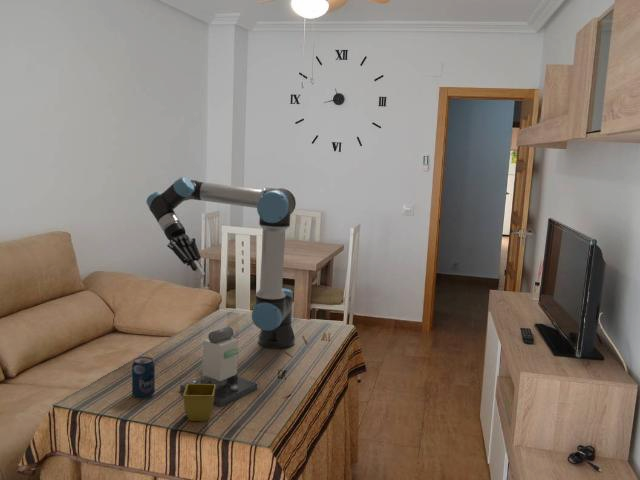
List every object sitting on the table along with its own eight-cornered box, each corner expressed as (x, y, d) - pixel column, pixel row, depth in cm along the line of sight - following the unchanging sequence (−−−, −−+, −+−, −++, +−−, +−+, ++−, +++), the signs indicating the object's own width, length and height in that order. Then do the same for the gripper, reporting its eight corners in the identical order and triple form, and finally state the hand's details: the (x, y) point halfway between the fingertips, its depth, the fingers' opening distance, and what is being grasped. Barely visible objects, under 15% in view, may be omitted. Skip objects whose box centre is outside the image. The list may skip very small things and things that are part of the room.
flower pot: (186, 410, 184) (187, 383, 183) (215, 411, 185) (216, 383, 183) (182, 424, 175) (182, 395, 174) (212, 424, 176) (213, 395, 175)
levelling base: (180, 391, 198) (180, 375, 197) (218, 375, 213) (218, 360, 212) (220, 406, 188) (220, 390, 187) (257, 389, 203) (258, 373, 202)
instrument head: (200, 382, 198) (201, 330, 195) (221, 373, 206) (222, 323, 203) (221, 390, 193) (223, 337, 190) (242, 381, 201) (244, 329, 198)
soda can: (142, 401, 189) (142, 365, 187) (127, 396, 192) (127, 360, 190) (159, 394, 194) (159, 359, 192) (144, 389, 198) (144, 354, 196)
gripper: (180, 231, 240) (209, 279, 234) (154, 234, 230) (184, 284, 223) (189, 220, 237) (219, 268, 230) (163, 222, 226) (194, 273, 219)
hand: (202, 276), depth 227 cm, fingers closed
